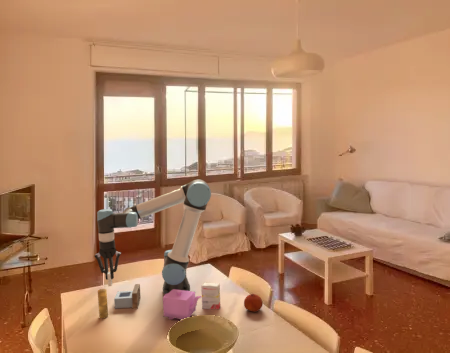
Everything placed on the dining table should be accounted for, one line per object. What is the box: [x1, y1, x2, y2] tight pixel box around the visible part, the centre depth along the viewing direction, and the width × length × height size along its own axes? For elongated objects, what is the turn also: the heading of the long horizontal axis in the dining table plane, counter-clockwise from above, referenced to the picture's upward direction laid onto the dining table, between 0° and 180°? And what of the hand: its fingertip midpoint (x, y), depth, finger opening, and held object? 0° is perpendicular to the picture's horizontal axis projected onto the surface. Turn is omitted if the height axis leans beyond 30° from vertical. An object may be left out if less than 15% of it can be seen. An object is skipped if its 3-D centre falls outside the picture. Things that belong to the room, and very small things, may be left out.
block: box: [113, 290, 133, 309], centre depth 190 cm, size 9×9×5 cm
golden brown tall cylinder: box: [97, 288, 109, 319], centre depth 177 cm, size 4×4×13 cm
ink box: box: [200, 281, 221, 310], centre depth 184 cm, size 9×5×12 cm, turn 79°
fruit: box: [243, 293, 264, 313], centre depth 180 cm, size 9×9×8 cm
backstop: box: [132, 283, 141, 310], centre depth 191 cm, size 2×12×8 cm, turn 6°
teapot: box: [162, 289, 202, 321], centre depth 175 cm, size 20×10×12 cm, turn 71°
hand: (110, 285), depth 189 cm, fingers closed
